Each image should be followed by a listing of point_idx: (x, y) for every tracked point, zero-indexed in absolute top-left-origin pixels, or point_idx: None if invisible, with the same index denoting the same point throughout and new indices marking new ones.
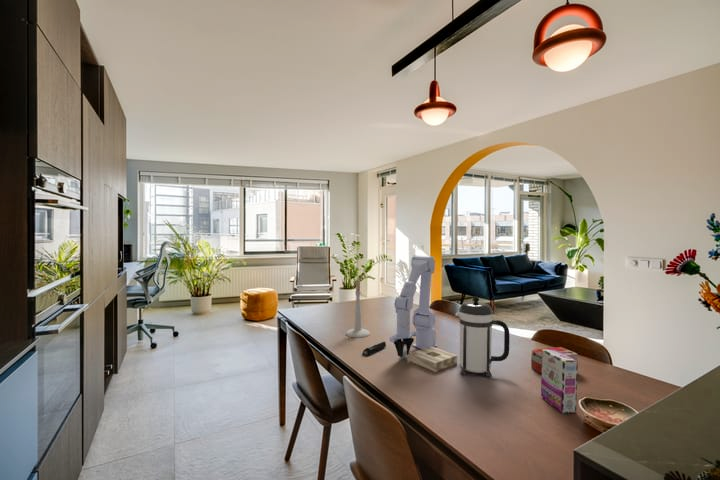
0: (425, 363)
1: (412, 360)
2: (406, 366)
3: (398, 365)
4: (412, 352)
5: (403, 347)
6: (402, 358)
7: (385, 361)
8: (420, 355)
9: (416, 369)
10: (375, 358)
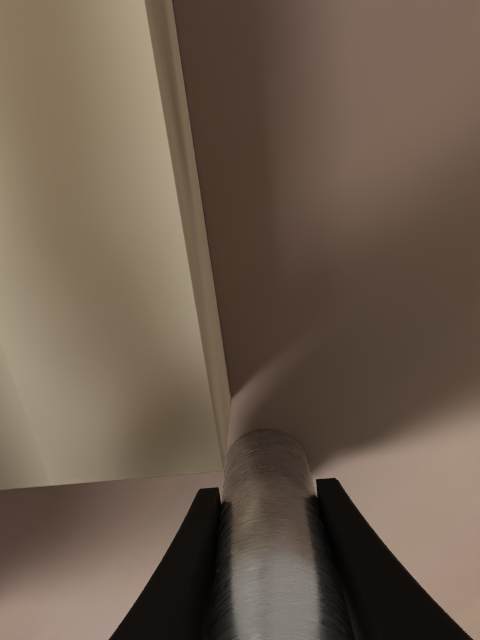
0: (178, 112)
1: (224, 369)
2: (374, 300)
3: (429, 370)
4: (167, 469)
5: (332, 636)
6: (302, 463)
7: (457, 514)
8: (126, 297)
9: (339, 152)
10: (477, 605)
